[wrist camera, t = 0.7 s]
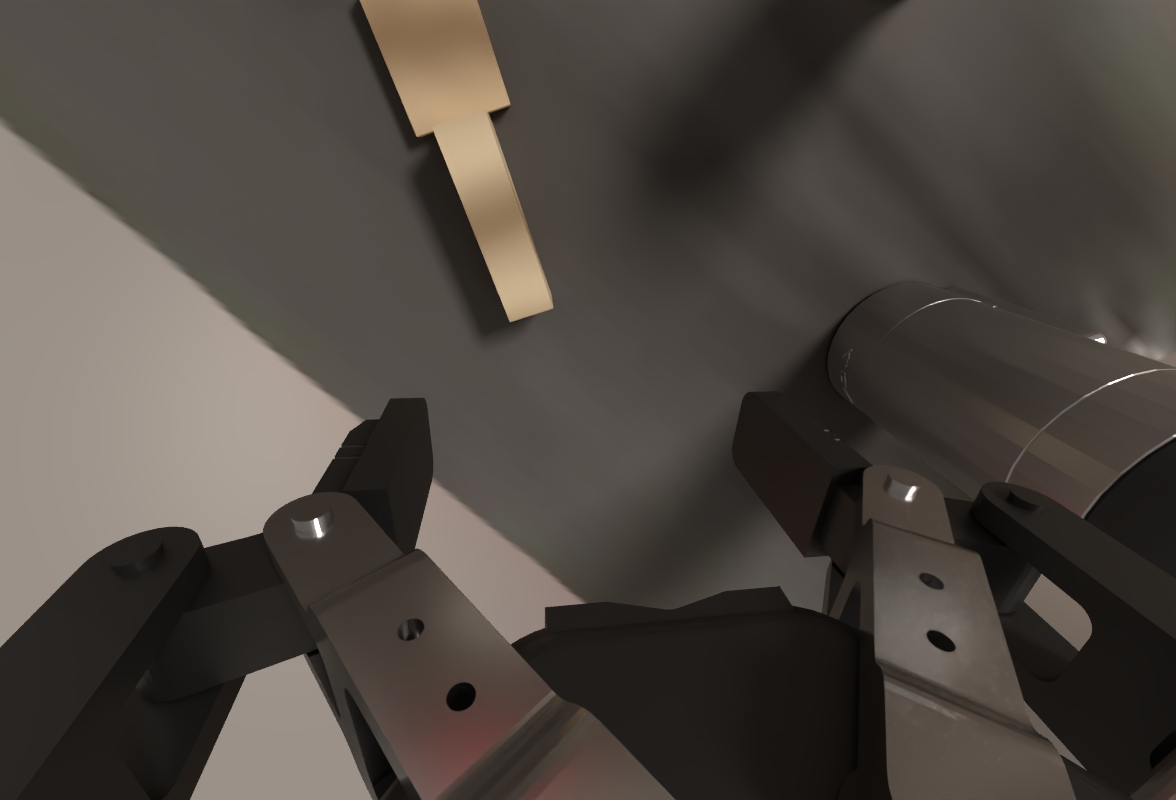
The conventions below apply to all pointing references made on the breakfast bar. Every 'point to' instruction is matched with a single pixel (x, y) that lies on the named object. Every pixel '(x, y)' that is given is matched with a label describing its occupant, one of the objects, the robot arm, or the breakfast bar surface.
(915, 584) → the robot arm
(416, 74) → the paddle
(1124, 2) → the breakfast bar surface
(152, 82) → the breakfast bar surface
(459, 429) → the breakfast bar surface
